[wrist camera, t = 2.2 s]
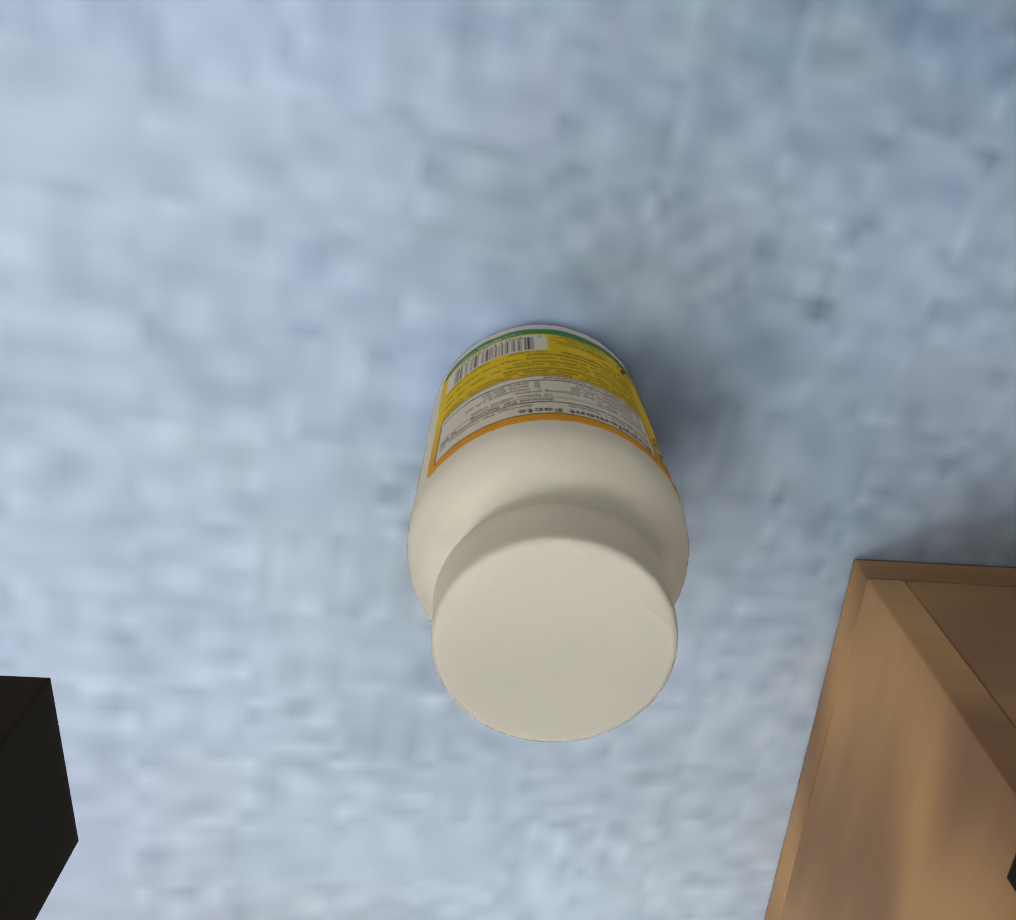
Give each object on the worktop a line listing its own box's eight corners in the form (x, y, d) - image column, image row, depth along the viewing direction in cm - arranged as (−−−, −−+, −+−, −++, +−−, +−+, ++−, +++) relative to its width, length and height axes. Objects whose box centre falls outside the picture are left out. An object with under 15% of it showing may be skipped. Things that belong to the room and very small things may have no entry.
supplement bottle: (481, 285, 22) (466, 440, 13) (679, 370, 23) (789, 570, 14) (401, 471, 24) (341, 715, 15) (585, 543, 25) (629, 812, 16)
